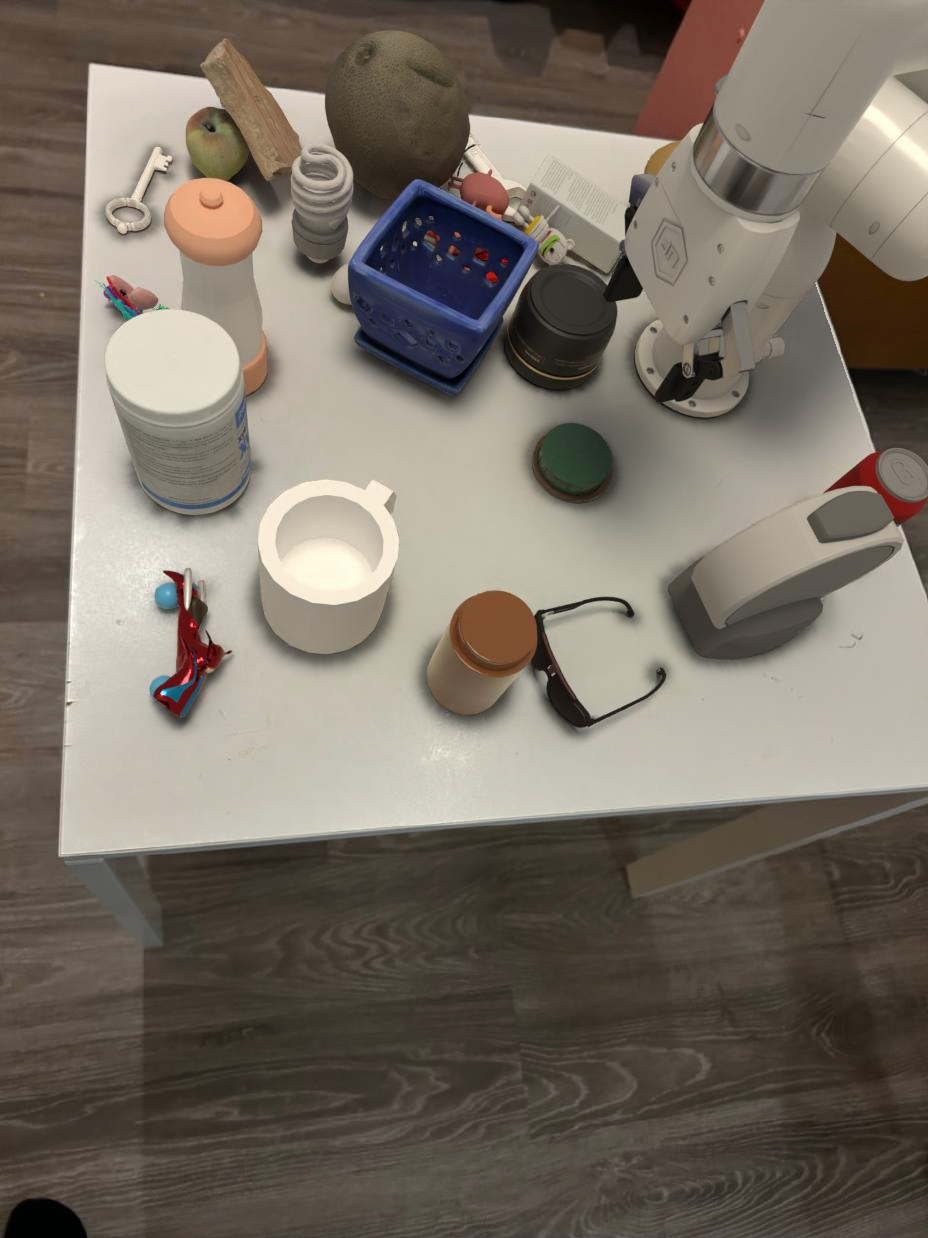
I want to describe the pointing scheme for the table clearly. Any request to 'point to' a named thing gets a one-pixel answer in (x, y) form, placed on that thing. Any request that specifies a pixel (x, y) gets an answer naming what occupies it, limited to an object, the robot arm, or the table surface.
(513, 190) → the wrench
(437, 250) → the flower pot
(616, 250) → the cosmetic box
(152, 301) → the anatomy model
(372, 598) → the mug
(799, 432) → the table surface
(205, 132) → the apple
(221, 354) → the supplement tub
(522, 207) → the toy
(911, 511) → the beverage can
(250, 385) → the salt shaker
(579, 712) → the sunglasses
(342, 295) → the egg
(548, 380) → the jar
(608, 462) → the lid
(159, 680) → the hoverbike
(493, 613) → the jam jar
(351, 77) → the cantaloupe
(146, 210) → the key
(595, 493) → the coaster
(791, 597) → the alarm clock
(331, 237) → the light bulb
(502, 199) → the figurine
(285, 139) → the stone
